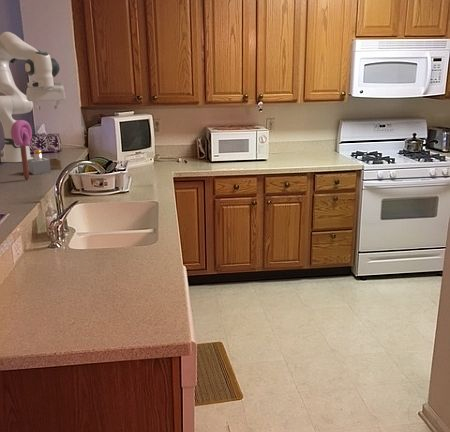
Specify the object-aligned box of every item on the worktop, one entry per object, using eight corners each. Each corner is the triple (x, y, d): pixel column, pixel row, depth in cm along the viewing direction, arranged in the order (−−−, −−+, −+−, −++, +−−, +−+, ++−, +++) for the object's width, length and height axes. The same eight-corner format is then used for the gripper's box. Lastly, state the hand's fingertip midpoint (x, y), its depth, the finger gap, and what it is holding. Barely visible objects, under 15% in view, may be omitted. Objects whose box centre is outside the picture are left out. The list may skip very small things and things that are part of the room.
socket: (29, 171, 269) (27, 159, 267) (46, 170, 274) (44, 157, 272) (33, 174, 262) (32, 161, 260) (51, 172, 267) (49, 159, 265)
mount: (45, 168, 279) (44, 159, 277) (57, 167, 283) (56, 158, 281) (48, 170, 273) (48, 161, 272) (61, 168, 277) (60, 160, 276)
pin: (35, 172, 269) (32, 150, 265) (42, 171, 271) (40, 149, 267) (37, 173, 266) (34, 151, 262) (44, 172, 268) (42, 150, 264)
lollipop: (25, 183, 243) (18, 121, 234) (12, 182, 244) (4, 121, 236) (40, 177, 255) (34, 118, 247) (28, 176, 257) (21, 118, 248)
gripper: (62, 82, 275) (64, 108, 279) (24, 83, 264) (27, 109, 268) (65, 83, 270) (68, 108, 274) (27, 83, 259) (30, 110, 263)
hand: (47, 109), depth 271 cm, fingers open, 8 cm apart
